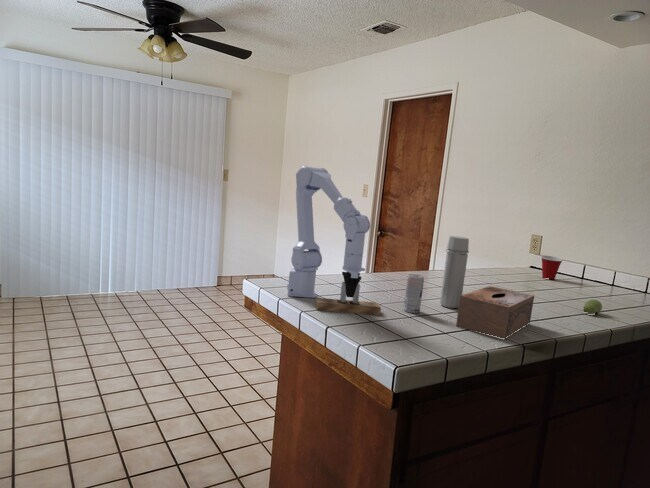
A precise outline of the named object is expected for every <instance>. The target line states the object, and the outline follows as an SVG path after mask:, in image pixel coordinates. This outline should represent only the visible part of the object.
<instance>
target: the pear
mask: <svg viewBox="0 0 650 488" xmlns="http://www.w3.org/2000/svg"><path fill="white" fill-rule="evenodd" d="M602 310H603V304H602V302H600V301H599V300H597V299H590V300H587V301H586V302H585V304H584V306H583V309H582V311H584V312H588V313H596V312H599V313H601V311H602ZM596 314H597V313H596Z"/></svg>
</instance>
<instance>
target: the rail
mask: <svg viewBox="0 0 650 488" xmlns="http://www.w3.org/2000/svg"><path fill="white" fill-rule="evenodd" d="M315 308H316V311H325V312H335V313H336V312H337V313H348V314H349V313H350V314H362V315H375V316H380V315H381V311H382V309H381V308H382V306H381V305H380V304H379V302H376V301H375V302H373V301H359V300H358V303H353V301H352V299H349V300H348V299H346V302H340V299H336V298H324V297H323V298H322V297H316V304H315Z"/></svg>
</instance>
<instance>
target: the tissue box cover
mask: <svg viewBox="0 0 650 488" xmlns="http://www.w3.org/2000/svg"><path fill="white" fill-rule="evenodd" d="M534 300H535V295H534V294H529V293H523V292H520V291H515V290H511V289H506V288H502V287H496V286H492V285H490V286H487V287H483V288H480V289H477V290H474V291H471V292H467V293H464V294H462V295H461V296H460V302H459V308H457V317H456V323H455V324H456V326H457V328H459V327H461V328H460V329H463V328H465V329H464V330H466V329H469V330H468V331H470V330H472V331H471V332H473V331H477V332H481V333H485V334H489V335H493V336H497V337H500V338H506V337H507V336H509V335H511V334H512V333H514V332H515V331H517V330H518V329H520V328H522V327H523V326H525V325H527V324H528V323H530V324H531V318H532V312H533V306H534ZM456 326H455V327H456ZM477 332H476V333H477Z"/></svg>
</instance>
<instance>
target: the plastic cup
mask: <svg viewBox="0 0 650 488" xmlns="http://www.w3.org/2000/svg"><path fill="white" fill-rule="evenodd" d="M540 258H541V272H542V278H543V277H544V278H549V279H554V280H555V279H556V276H557V274H558V271H559V268H560V266H561V265H562V262H563V261H564V259H562V258H561V257H557V256H553V255H552V256H551V255H540Z"/></svg>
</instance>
